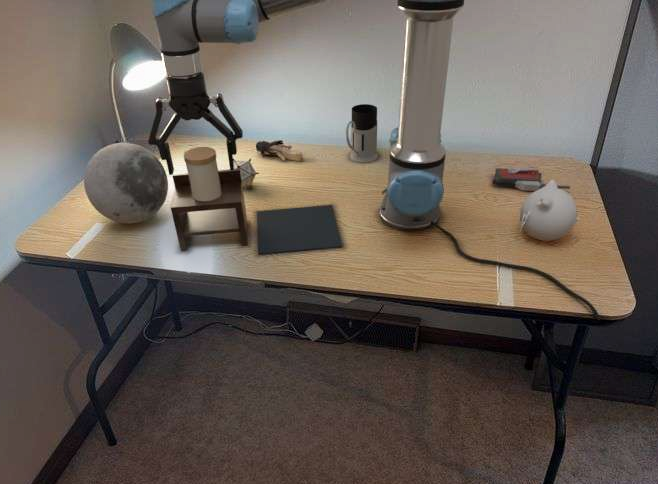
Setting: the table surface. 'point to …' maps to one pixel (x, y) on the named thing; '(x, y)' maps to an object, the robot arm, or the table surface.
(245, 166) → the spiked polyhedron
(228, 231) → the shelf
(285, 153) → the toy figure
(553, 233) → the grey round piece
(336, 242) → the mat
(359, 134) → the glass holder
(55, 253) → the table surface
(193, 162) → the canister
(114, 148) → the moon model
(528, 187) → the walkie-talkie
